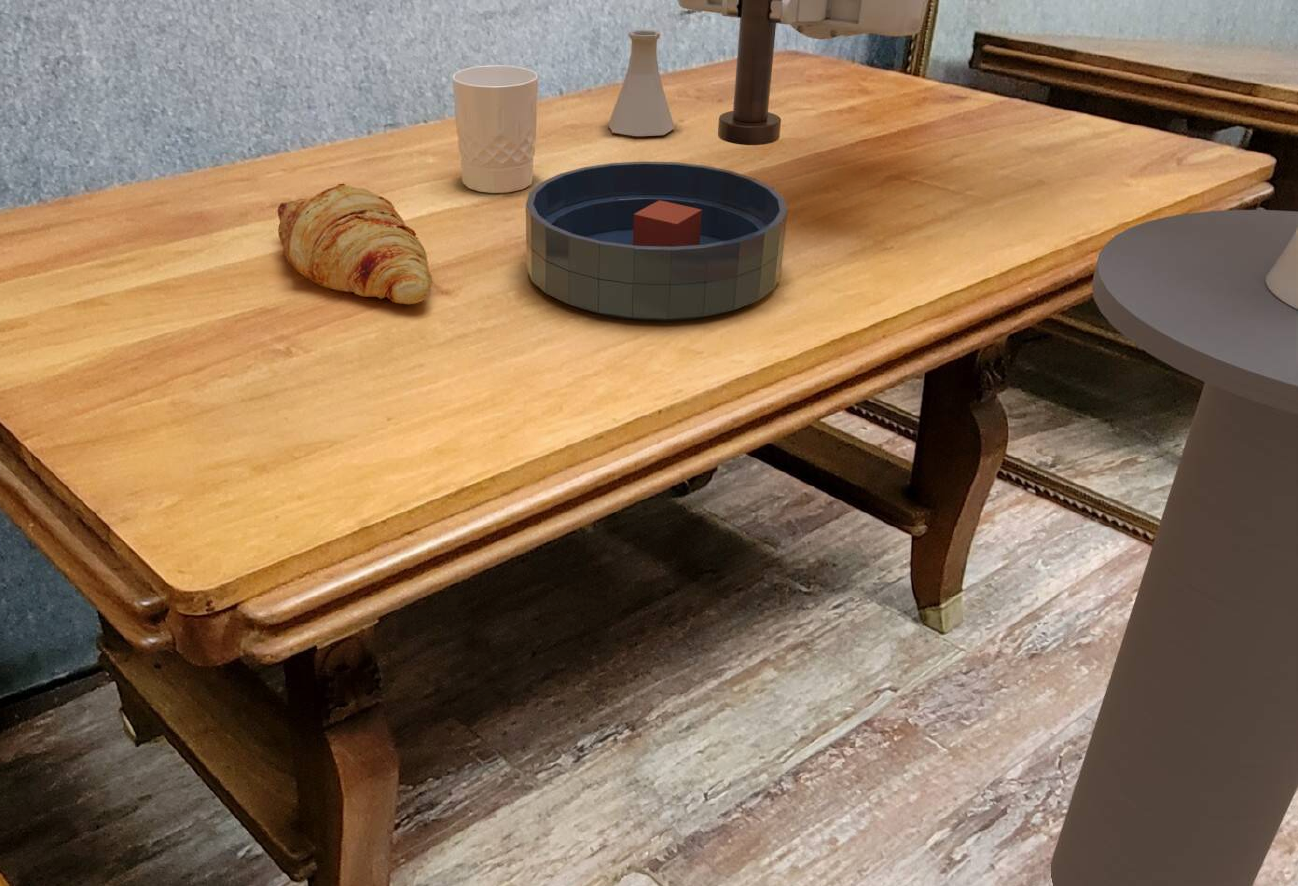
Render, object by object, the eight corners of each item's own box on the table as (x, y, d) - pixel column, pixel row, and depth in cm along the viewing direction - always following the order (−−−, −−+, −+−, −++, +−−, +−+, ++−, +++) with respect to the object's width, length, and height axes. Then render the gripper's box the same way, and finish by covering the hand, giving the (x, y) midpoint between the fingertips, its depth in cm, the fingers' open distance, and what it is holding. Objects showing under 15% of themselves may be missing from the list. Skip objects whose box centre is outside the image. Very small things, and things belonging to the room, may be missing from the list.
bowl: (821, 261, 102) (829, 190, 99) (700, 349, 88) (706, 270, 85) (614, 213, 112) (616, 147, 109) (477, 286, 98) (474, 212, 95)
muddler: (789, 134, 102) (814, -110, 92) (761, 149, 98) (784, -102, 89) (735, 124, 104) (754, -114, 94) (706, 138, 101) (722, -107, 91)
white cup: (548, 173, 121) (548, 68, 116) (524, 199, 115) (522, 89, 110) (473, 166, 123) (469, 62, 118) (444, 191, 117) (439, 82, 111)
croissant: (458, 344, 97) (495, 247, 95) (356, 319, 89) (394, 214, 87) (317, 260, 110) (346, 174, 108) (218, 233, 103) (248, 140, 101)
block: (699, 256, 102) (702, 209, 99) (674, 272, 99) (677, 223, 97) (657, 246, 103) (659, 199, 101) (631, 261, 101) (633, 213, 99)
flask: (671, 140, 130) (676, 41, 125) (603, 137, 132) (605, 38, 126) (677, 121, 136) (682, 25, 131) (612, 118, 137) (614, 23, 132)
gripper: (724, -71, 108) (640, -49, 99) (952, -49, 98) (884, -22, 89) (719, 6, 111) (637, 34, 102) (939, 35, 102) (871, 69, 92)
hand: (754, 8), depth 95 cm, fingers closed on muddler, 3 cm apart
